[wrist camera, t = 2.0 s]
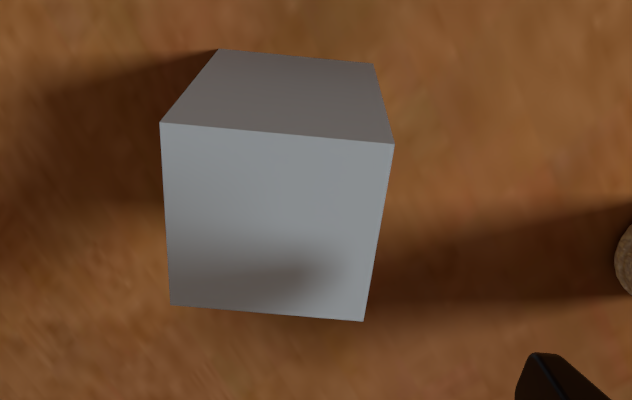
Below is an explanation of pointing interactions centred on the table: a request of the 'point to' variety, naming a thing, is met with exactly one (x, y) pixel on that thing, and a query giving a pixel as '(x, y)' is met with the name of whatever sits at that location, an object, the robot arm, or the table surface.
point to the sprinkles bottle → (624, 260)
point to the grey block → (275, 185)
